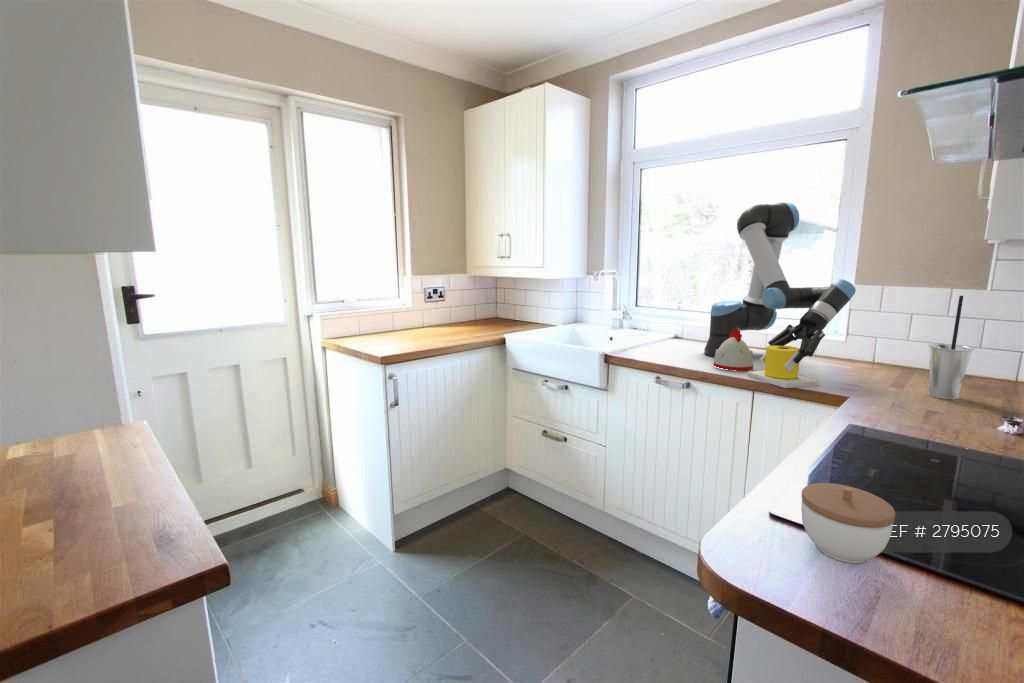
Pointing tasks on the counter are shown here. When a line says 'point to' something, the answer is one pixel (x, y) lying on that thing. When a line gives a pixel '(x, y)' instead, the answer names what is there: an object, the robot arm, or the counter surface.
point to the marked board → (783, 380)
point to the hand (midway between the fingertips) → (774, 365)
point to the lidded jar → (846, 521)
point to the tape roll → (780, 362)
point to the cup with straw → (948, 365)
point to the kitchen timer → (734, 354)
